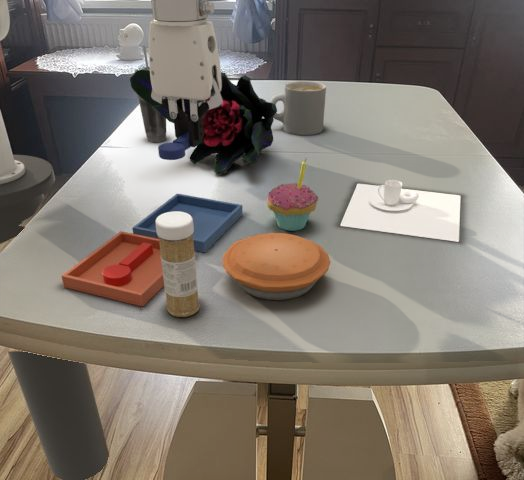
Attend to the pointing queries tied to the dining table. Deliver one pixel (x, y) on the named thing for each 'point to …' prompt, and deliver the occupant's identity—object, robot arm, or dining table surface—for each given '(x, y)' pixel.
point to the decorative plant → (224, 121)
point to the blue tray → (195, 218)
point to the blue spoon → (175, 148)
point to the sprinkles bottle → (178, 262)
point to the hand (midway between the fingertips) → (190, 143)
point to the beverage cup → (152, 117)
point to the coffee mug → (302, 107)
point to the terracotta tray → (112, 252)
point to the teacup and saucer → (404, 211)
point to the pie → (276, 265)
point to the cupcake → (292, 203)
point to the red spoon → (127, 266)
